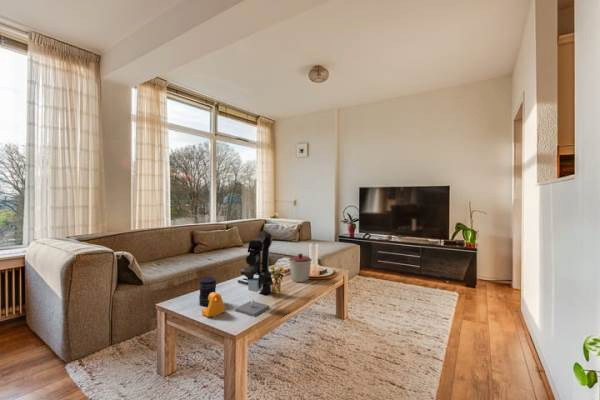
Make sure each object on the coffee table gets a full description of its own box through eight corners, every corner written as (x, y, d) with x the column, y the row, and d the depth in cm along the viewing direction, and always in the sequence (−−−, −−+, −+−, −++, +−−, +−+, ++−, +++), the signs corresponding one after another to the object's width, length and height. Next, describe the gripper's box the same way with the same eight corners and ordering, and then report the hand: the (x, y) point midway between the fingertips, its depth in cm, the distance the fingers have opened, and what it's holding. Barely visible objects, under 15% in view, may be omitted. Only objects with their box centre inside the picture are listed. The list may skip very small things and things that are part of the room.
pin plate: (235, 310, 163) (235, 301, 163) (251, 302, 175) (251, 294, 175) (253, 316, 156) (253, 306, 156) (269, 308, 168) (269, 298, 168)
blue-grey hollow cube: (248, 290, 166) (248, 280, 166) (254, 287, 171) (255, 277, 171) (256, 292, 163) (256, 281, 163) (262, 289, 168) (262, 279, 168)
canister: (302, 275, 234) (303, 250, 233) (316, 281, 219) (316, 254, 218) (284, 279, 224) (284, 252, 223) (296, 285, 209) (297, 257, 208)
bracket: (218, 308, 166) (218, 288, 166) (225, 312, 162) (225, 291, 161) (201, 314, 158) (201, 293, 158) (208, 318, 154) (208, 296, 153)
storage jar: (198, 307, 168) (198, 282, 168) (199, 301, 177) (199, 277, 177) (215, 305, 171) (216, 281, 170) (216, 299, 180) (216, 276, 180)
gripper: (234, 261, 165) (234, 288, 165) (259, 266, 155) (259, 294, 155) (247, 258, 174) (246, 283, 174) (271, 262, 165) (271, 288, 165)
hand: (255, 287), depth 167 cm, fingers closed on blue-grey hollow cube, 6 cm apart
